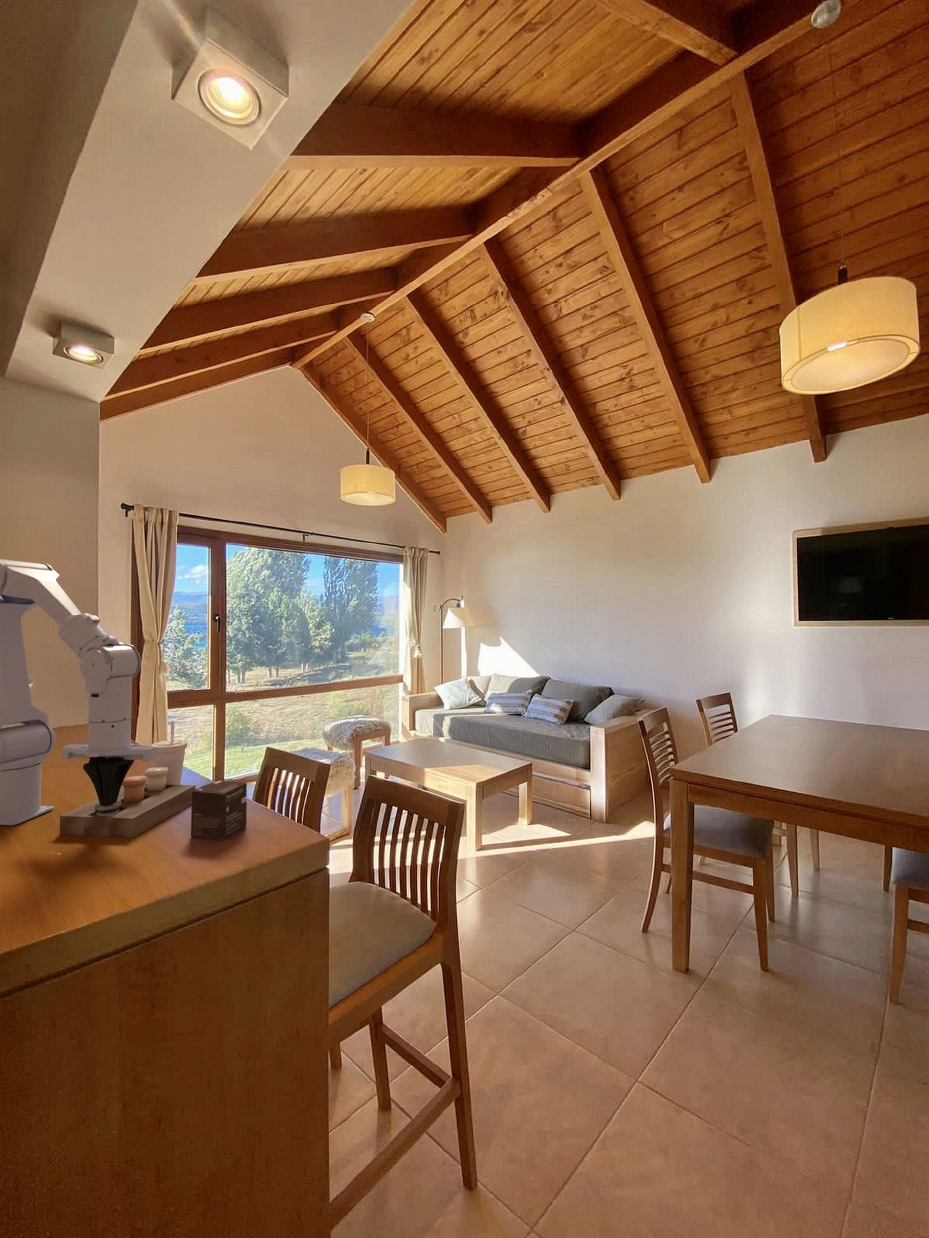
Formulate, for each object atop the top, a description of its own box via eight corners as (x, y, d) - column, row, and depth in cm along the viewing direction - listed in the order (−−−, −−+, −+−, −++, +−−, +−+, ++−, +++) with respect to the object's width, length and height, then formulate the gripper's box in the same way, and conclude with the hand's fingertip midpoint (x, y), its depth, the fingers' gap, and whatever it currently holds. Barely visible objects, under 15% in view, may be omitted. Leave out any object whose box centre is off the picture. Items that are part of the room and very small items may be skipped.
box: (223, 841, 80) (224, 793, 80) (189, 837, 82) (190, 790, 82) (247, 826, 86) (248, 782, 86) (215, 823, 87) (216, 779, 88)
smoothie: (193, 791, 104) (194, 720, 104) (160, 799, 99) (161, 725, 99) (175, 785, 107) (177, 717, 108) (142, 793, 102) (144, 722, 102)
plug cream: (140, 793, 94) (140, 771, 94) (153, 787, 98) (153, 766, 98) (159, 794, 94) (159, 772, 94) (171, 788, 98) (172, 766, 98)
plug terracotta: (116, 805, 88) (116, 781, 88) (131, 798, 92) (131, 775, 92) (136, 805, 88) (137, 782, 88) (150, 798, 92) (151, 776, 92)
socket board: (59, 834, 82) (60, 815, 82) (134, 799, 99) (134, 783, 99) (132, 837, 81) (133, 818, 81) (195, 801, 98) (195, 785, 98)
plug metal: (88, 832, 82) (89, 806, 82) (105, 823, 86) (106, 799, 86) (110, 833, 82) (110, 807, 82) (126, 824, 86) (126, 800, 86)
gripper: (46, 723, 81) (44, 811, 80) (136, 725, 80) (134, 814, 80) (82, 715, 88) (80, 796, 87) (165, 717, 87) (163, 798, 87)
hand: (108, 803), depth 84 cm, fingers closed, pressing on plug metal
